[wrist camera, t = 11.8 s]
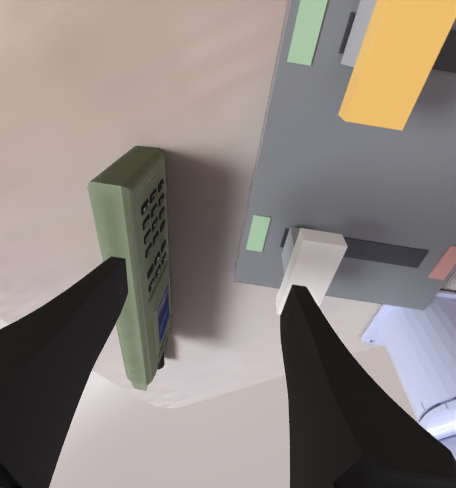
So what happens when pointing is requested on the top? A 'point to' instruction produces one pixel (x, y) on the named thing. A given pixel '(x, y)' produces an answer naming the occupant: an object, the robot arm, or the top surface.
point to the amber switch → (392, 57)
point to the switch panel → (352, 170)
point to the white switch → (310, 262)
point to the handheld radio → (137, 254)
